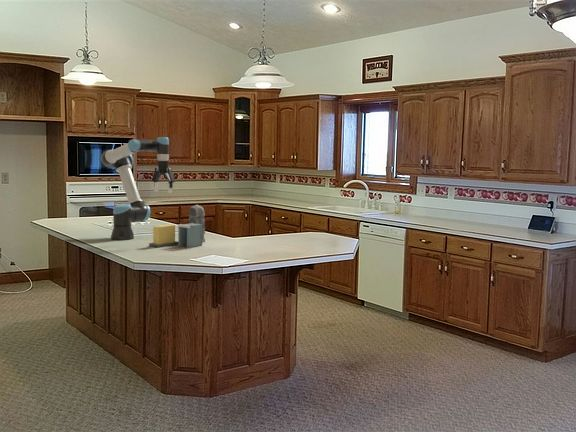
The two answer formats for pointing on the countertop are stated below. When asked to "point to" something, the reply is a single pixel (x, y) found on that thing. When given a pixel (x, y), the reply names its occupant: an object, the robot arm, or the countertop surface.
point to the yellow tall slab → (163, 234)
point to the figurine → (197, 217)
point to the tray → (163, 244)
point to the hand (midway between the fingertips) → (163, 192)
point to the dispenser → (190, 235)
